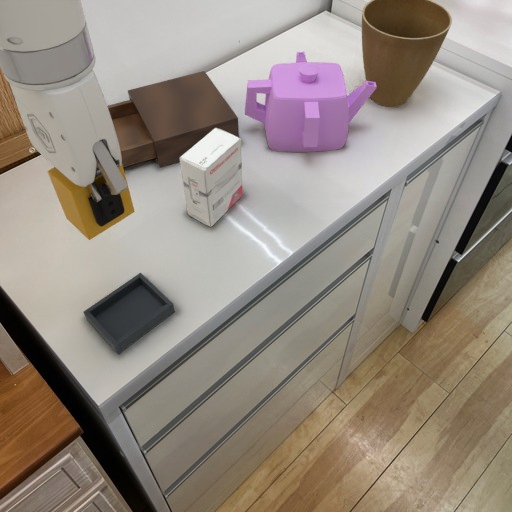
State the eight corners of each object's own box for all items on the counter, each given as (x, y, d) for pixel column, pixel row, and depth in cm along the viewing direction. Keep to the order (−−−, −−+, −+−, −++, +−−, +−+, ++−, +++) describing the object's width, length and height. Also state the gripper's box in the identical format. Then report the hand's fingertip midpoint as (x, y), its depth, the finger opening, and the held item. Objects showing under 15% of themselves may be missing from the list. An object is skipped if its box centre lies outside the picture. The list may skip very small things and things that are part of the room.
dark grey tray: (118, 354, 67) (114, 346, 66) (86, 320, 71) (82, 311, 69) (175, 311, 71) (173, 303, 70) (142, 280, 75) (140, 272, 73)
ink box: (220, 183, 87) (216, 124, 78) (244, 195, 85) (243, 136, 76) (186, 215, 83) (177, 156, 73) (211, 228, 81) (205, 170, 72)
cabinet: (159, 167, 90) (154, 141, 85) (133, 116, 99) (127, 90, 94) (239, 144, 93) (238, 117, 89) (206, 96, 102) (204, 70, 98)
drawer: (73, 186, 86) (67, 168, 83) (55, 135, 94) (49, 117, 91) (176, 156, 90) (173, 138, 87) (150, 109, 98) (147, 91, 95)
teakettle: (237, 132, 95) (235, 70, 86) (298, 91, 103) (302, 30, 94) (312, 176, 88) (318, 113, 78) (371, 128, 96) (383, 66, 86)
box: (89, 240, 57) (71, 193, 51) (66, 218, 59) (46, 170, 53) (135, 212, 59) (122, 164, 54) (111, 191, 61) (97, 143, 56)
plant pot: (334, 99, 102) (345, 17, 89) (377, 66, 109) (392, -14, 96) (402, 130, 95) (424, 47, 83) (442, 93, 102) (468, 11, 90)
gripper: (-46, 28, 46) (26, 184, 60) (60, 113, 38) (113, 269, 52) (33, -1, 49) (83, 153, 63) (144, 71, 41) (173, 229, 56)
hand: (96, 204), depth 58 cm, fingers closed on box, 4 cm apart
